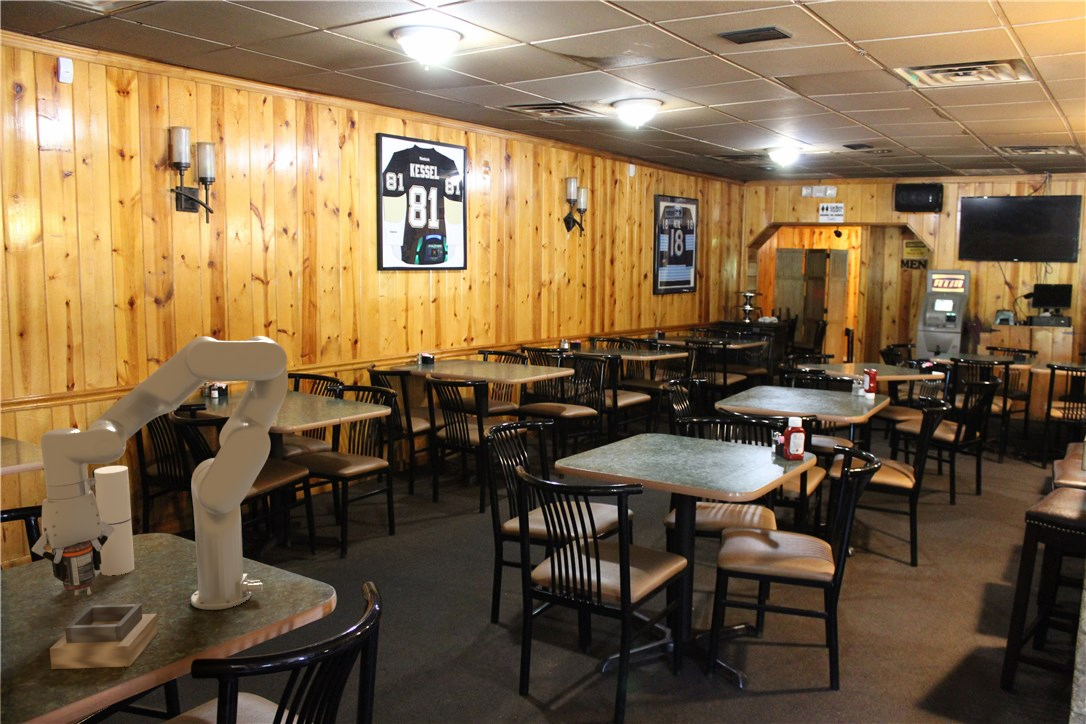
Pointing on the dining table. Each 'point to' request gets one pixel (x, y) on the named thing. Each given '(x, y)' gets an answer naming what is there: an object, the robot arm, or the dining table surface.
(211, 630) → the dining table surface
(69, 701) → the dining table surface
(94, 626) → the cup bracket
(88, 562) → the supplement bottle
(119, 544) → the cylindrical container
